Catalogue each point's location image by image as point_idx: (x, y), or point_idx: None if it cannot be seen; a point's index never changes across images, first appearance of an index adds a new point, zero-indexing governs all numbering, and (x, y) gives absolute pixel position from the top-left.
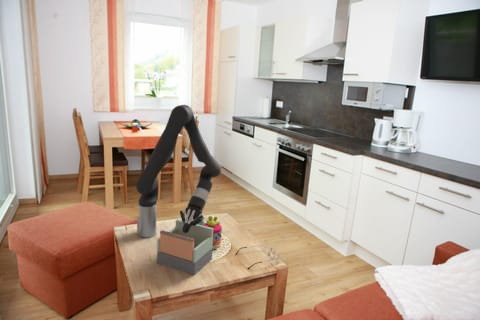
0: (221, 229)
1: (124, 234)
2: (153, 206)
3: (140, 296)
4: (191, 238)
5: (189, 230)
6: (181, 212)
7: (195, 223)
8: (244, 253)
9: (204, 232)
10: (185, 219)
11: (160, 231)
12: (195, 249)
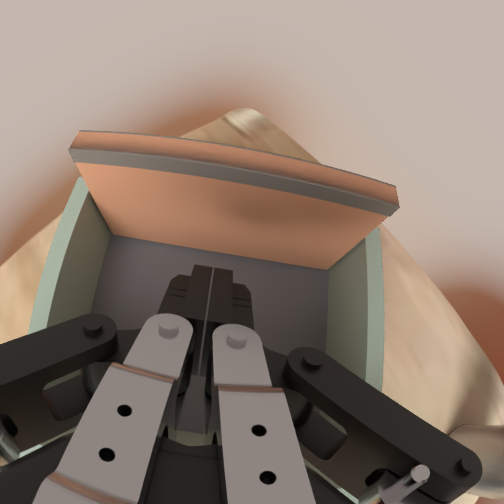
0: None
1: (497, 400)
2: None
3: (248, 110)
4: (91, 147)
5: None
6: (447, 459)
7: (83, 389)
8: None
9: (63, 433)
10: (301, 450)
11: (392, 185)
12: (79, 183)
